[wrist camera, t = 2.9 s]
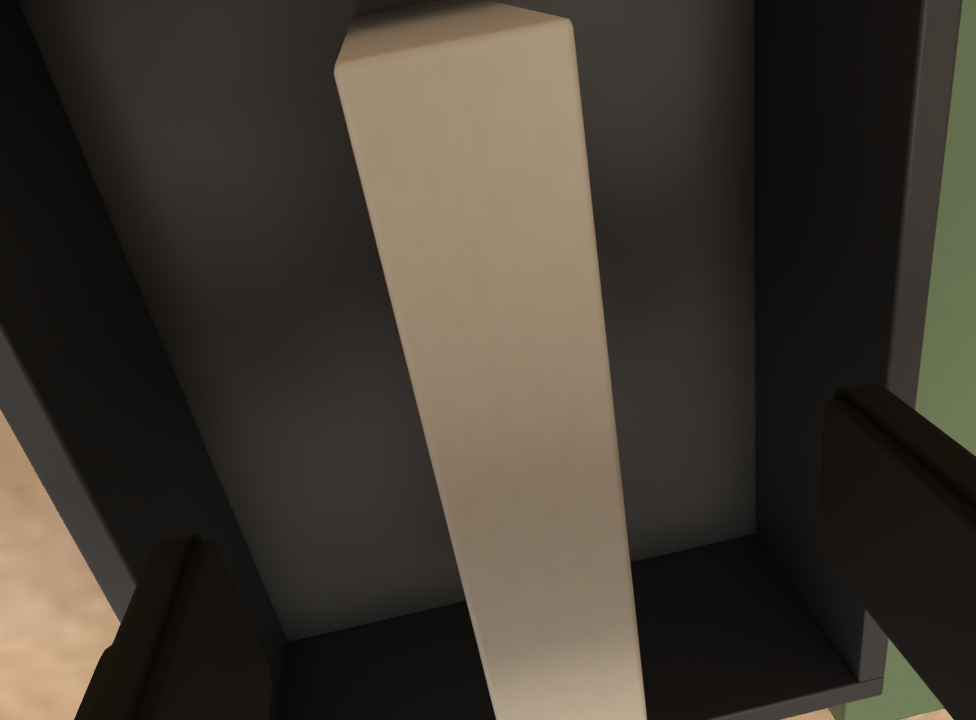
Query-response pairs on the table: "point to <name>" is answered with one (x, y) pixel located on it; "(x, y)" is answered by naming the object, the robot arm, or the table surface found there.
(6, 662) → the table surface
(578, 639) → the board
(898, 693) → the mat
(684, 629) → the bin
